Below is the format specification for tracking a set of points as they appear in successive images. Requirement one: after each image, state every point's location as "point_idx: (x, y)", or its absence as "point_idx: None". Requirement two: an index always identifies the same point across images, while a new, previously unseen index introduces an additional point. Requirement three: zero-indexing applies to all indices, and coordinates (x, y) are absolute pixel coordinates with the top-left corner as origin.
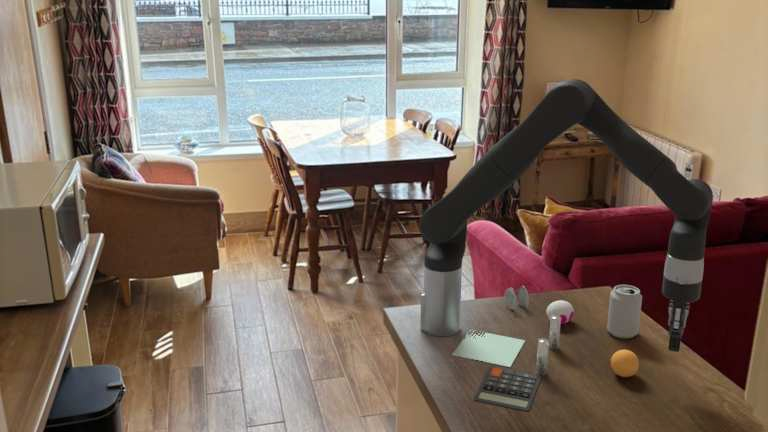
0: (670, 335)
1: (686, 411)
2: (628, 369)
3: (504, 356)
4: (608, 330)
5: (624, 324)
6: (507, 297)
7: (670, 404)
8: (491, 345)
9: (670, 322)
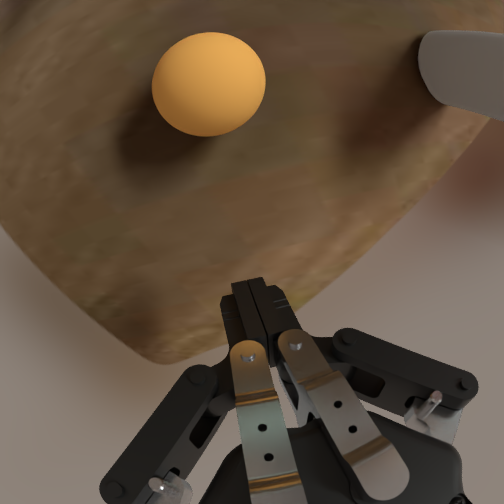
0: (185, 377)
1: (117, 286)
2: (159, 112)
3: None
4: (429, 32)
5: (448, 68)
6: None
7: (120, 250)
8: None
9: (103, 496)
